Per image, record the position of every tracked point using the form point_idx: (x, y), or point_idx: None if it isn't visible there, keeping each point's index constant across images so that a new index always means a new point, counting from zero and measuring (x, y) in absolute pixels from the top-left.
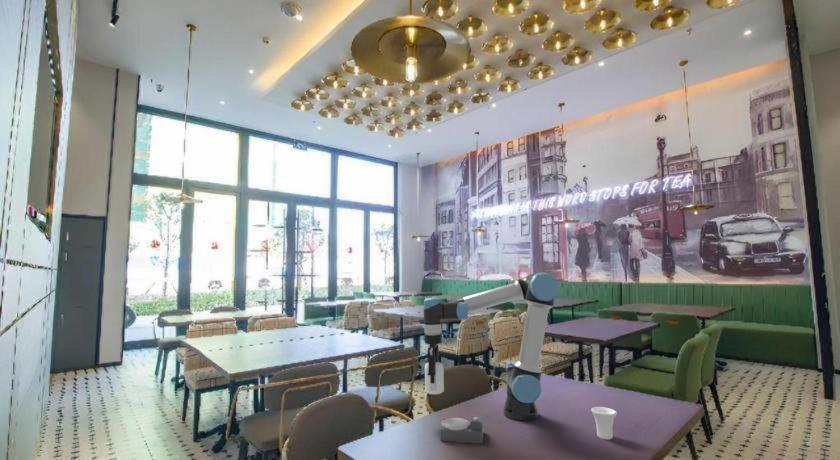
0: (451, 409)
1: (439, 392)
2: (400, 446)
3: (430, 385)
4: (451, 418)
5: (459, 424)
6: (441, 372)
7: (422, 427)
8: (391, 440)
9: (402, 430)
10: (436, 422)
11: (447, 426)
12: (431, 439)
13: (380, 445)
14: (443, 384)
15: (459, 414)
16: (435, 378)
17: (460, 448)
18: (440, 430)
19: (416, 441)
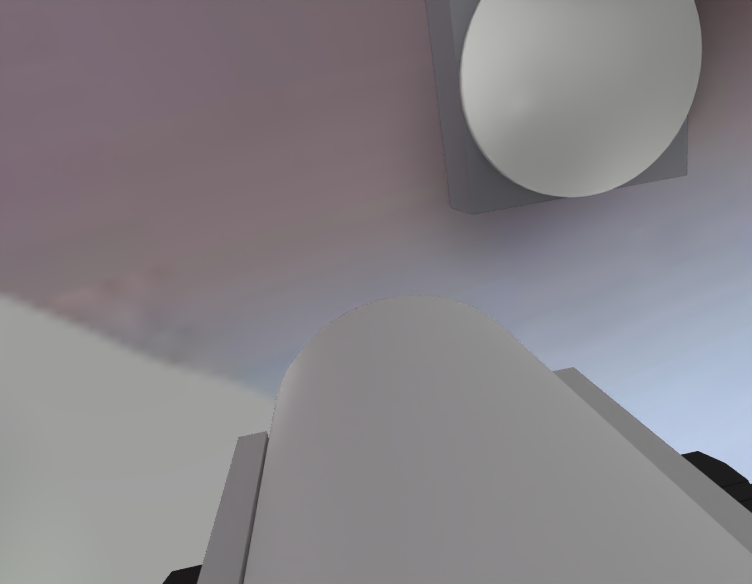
0: (3, 278)
1: (505, 329)
2: (746, 366)
3: None
4: (492, 139)
5: (613, 26)
6: (660, 498)
7: None
8: (681, 440)
9: None
10: (342, 300)
11: (675, 121)
12: (629, 235)
13: (747, 461)
14: (440, 329)
15: (92, 177)
16: (721, 499)
17: (729, 3)
18: (682, 173)
19: (672, 311)
